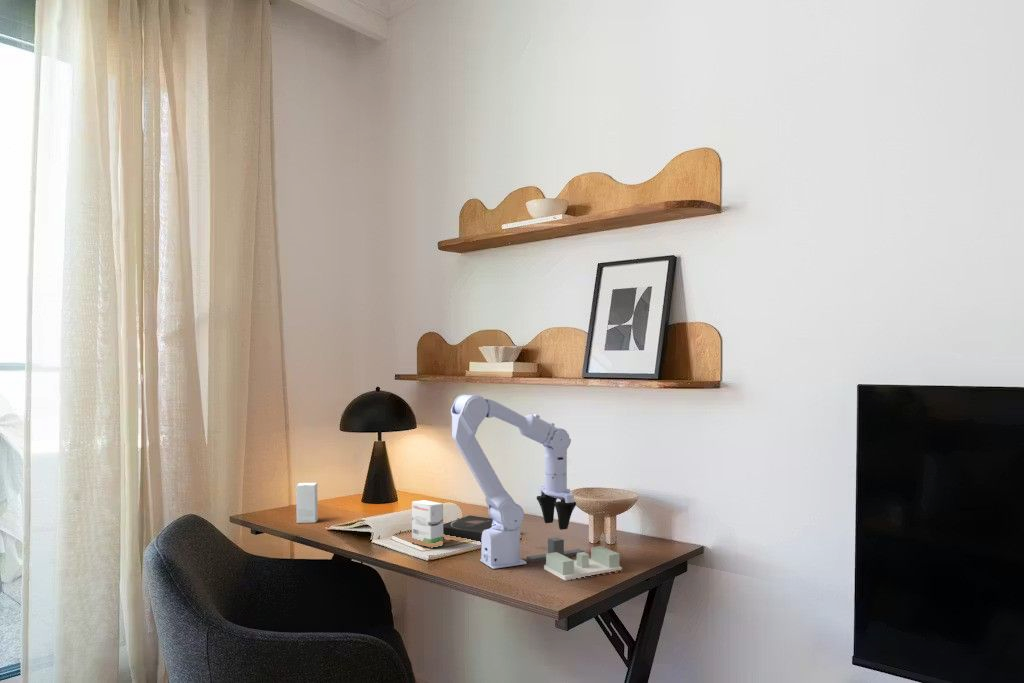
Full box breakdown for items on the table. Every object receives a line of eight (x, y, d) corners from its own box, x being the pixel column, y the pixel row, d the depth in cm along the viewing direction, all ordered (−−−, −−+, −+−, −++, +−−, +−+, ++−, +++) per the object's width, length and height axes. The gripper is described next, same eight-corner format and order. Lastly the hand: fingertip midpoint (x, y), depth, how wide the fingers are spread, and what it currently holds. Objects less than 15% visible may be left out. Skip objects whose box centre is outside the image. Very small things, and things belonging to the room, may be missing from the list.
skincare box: (318, 520, 220) (318, 482, 221) (315, 523, 216) (316, 484, 216) (298, 520, 219) (298, 482, 220) (295, 523, 215) (295, 484, 215)
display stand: (565, 580, 159) (565, 563, 159) (544, 569, 168) (544, 552, 168) (621, 571, 166) (621, 554, 166) (598, 560, 175) (598, 544, 175)
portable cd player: (467, 528, 212) (467, 515, 212) (515, 535, 203) (515, 521, 203) (435, 539, 197) (435, 525, 198) (485, 548, 189) (485, 533, 189)
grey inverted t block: (532, 564, 174) (532, 544, 174) (526, 561, 176) (526, 541, 176) (584, 555, 181) (584, 536, 181) (578, 553, 184) (578, 534, 184)
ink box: (444, 546, 189) (444, 502, 190) (430, 549, 186) (430, 505, 186) (424, 540, 195) (424, 498, 195) (410, 543, 191) (410, 501, 192)
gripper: (583, 476, 175) (584, 530, 174) (555, 468, 188) (555, 518, 187) (559, 478, 172) (560, 533, 171) (532, 470, 185) (532, 521, 184)
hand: (556, 525), depth 179 cm, fingers open, 7 cm apart
